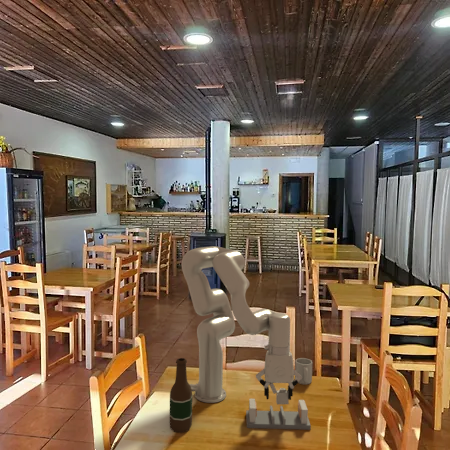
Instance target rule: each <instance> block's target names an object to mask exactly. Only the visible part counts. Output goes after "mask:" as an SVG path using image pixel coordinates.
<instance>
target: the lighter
mask: <svg viewBox="0 0 450 450" xmlns="http://www.w3.org/2000/svg"><path fill="white" fill-rule="evenodd" d="M274 384H275V383H270V384H269V385H268V386H269V388H270V389H271V392H272V393H273V395H274V394H276V396H275V397H276V398H275V399H276V400H275V402H276V405H289V404H290V403H289V401H290V400H289V392H288V389H286V388H284V387H280V388H279V390H277V389H276V387H275V385H274Z"/></svg>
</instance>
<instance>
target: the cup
mask: <svg viewBox="0 0 450 450" xmlns="http://www.w3.org/2000/svg"><path fill="white" fill-rule="evenodd" d="M294 364H295V367H294V370H295V371H296V372H297V373H299V374H300V375H301V377H302V379H301V380H300V381H299V382H298V384H300V385H303V386H304V385H305V386H306V385H310V384H312V382H313V360H311V359H309V358H306V357H300V358H299V357H298V358H297V359H295V363H294ZM294 379H296V376H295V375H294Z"/></svg>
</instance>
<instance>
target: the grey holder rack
mask: <svg viewBox="0 0 450 450" xmlns="http://www.w3.org/2000/svg"><path fill="white" fill-rule="evenodd" d="M248 403H249V404H248V409H247V410H246V411H245V412H246V413H245V417H246V418H245V419H246V428H247V429H272V430H273V429H276V430H277V429H278V430H305V431H306V430H310V431H311V430H312V429H311V426H312V425H311V423H310V419H309V417H308V414H309V413H308V411H309V410H308V409H309V408H308V407H307V404H306V401H305V400H304V399H298V402H297V411H290V410H289V411H286V410H284V408H283V405H280V406H279V407H280V408H279V409H280V410H274V408H273V405H269V410H258V407H257V401H256V399H255V398H249V401H248Z"/></svg>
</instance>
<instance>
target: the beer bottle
mask: <svg viewBox="0 0 450 450" xmlns="http://www.w3.org/2000/svg"><path fill="white" fill-rule="evenodd" d="M187 362H188V361H187V359H186V358H184V357H180V358H177V359H176V361H175V363H176V369H175V370H176V371H175V381H174V384H173V385H172V387H171V389H170V392H169V428H170V430H171V431H173V432H174V433H181V434H183V433H185V432H188V431H190V429H191V427H192V424H193V391H192V389H191V386H190V385H189V384H190V383H189V382H188V378H187V377H188V375H187Z"/></svg>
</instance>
